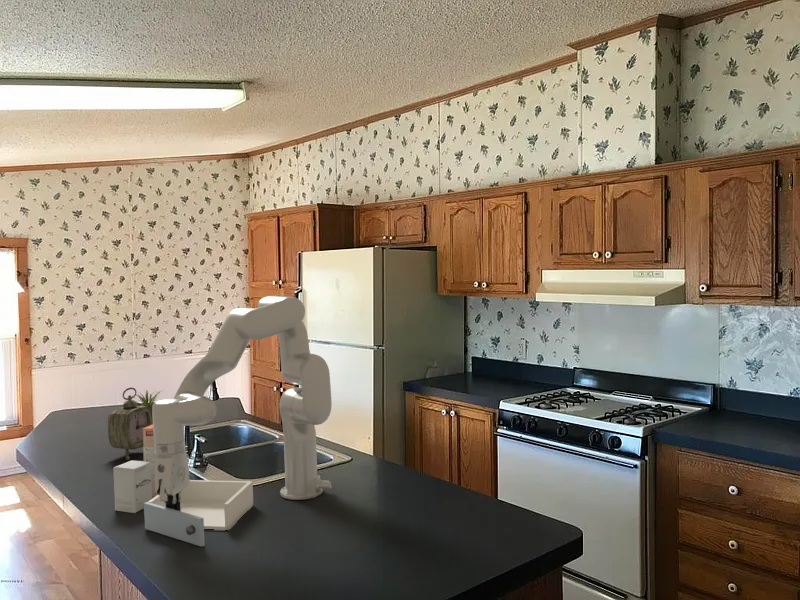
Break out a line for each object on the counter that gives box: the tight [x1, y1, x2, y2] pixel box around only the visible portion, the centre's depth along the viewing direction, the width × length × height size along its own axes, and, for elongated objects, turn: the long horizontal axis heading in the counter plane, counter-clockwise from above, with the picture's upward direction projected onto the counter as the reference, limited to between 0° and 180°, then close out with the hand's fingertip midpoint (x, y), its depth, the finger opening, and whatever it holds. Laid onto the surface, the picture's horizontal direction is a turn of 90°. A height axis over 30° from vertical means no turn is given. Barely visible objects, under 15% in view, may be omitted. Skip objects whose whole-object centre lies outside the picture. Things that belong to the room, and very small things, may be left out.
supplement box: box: [112, 460, 153, 514], centre depth 193 cm, size 7×7×13 cm
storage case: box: [148, 479, 254, 531], centre depth 185 cm, size 22×18×7 cm
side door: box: [143, 502, 206, 548], centre depth 171 cm, size 22×2×7 cm, turn 56°
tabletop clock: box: [107, 387, 153, 461], centre depth 246 cm, size 14×9×25 cm, turn 161°
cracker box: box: [142, 424, 157, 498], centre depth 208 cm, size 14×6×21 cm, turn 168°
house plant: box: [134, 389, 165, 408], centre depth 291 cm, size 14×14×16 cm
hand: (173, 517), depth 176 cm, fingers closed
